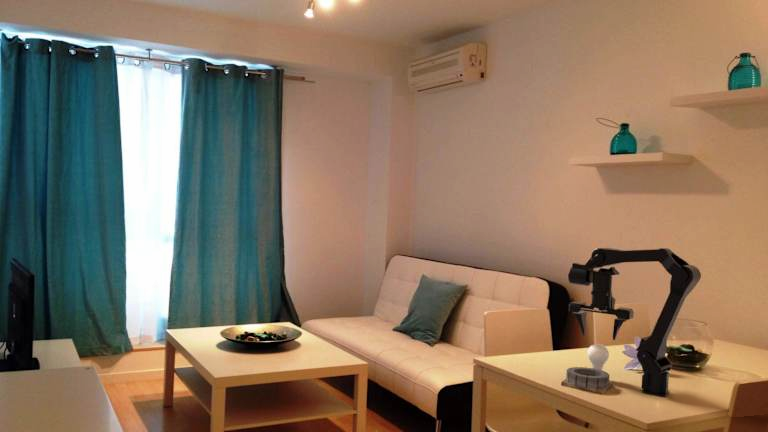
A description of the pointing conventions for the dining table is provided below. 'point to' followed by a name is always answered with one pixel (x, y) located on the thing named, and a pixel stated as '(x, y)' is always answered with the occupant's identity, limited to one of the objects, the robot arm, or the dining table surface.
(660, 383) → the robot arm
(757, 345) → the dining table surface
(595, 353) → the lightbulb
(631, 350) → the water lily
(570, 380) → the grey stone fire pit
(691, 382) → the dining table surface
